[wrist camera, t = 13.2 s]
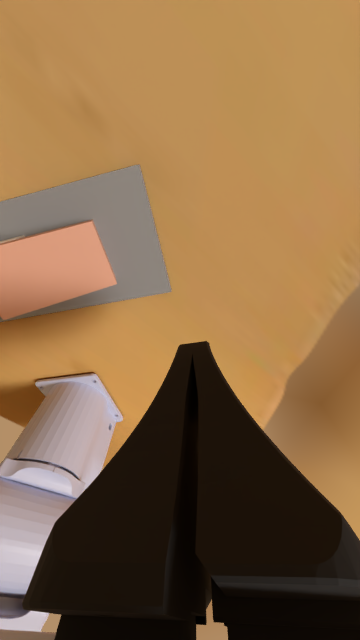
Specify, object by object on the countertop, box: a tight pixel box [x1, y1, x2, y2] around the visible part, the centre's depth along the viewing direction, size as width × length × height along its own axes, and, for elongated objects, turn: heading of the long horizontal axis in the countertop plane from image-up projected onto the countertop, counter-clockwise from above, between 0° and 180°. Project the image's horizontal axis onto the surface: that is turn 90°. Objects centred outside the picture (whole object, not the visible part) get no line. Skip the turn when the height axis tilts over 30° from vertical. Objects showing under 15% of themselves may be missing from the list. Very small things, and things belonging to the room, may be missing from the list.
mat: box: [0, 164, 171, 322], centre depth 18 cm, size 9×27×1 cm, turn 102°
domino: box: [0, 219, 117, 320], centre depth 15 cm, size 4×2×8 cm
